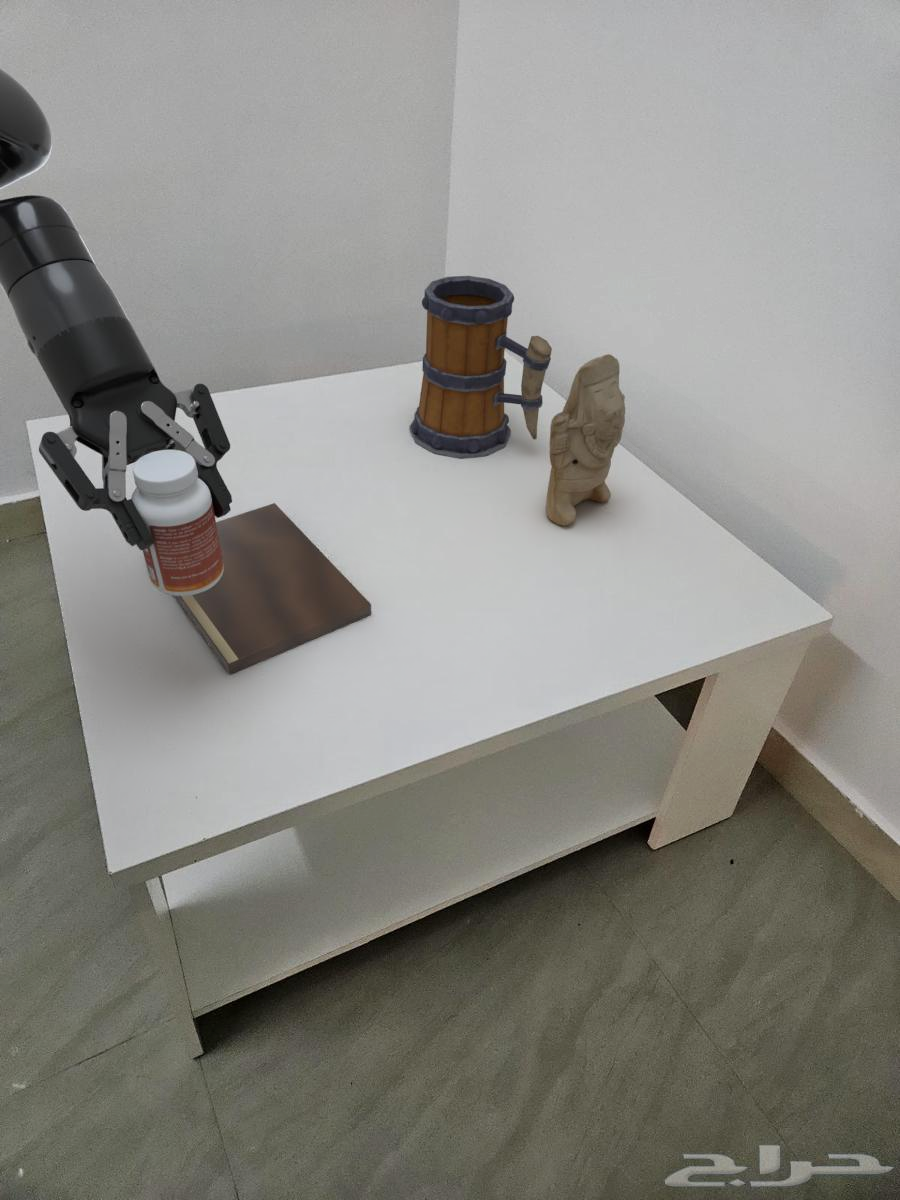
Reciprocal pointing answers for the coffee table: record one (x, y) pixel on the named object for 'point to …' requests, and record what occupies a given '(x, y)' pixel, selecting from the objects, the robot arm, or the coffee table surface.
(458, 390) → the mug
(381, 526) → the coffee table surface
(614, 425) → the figurine
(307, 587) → the board
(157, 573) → the pill bottle
